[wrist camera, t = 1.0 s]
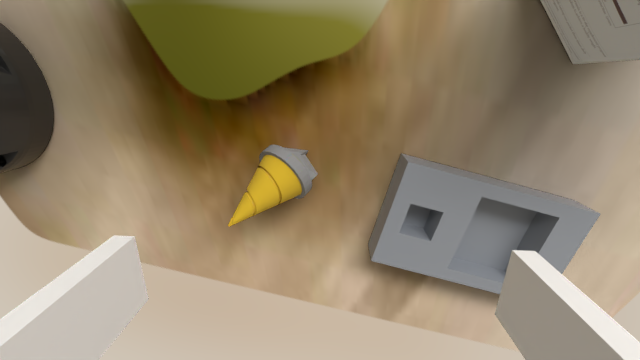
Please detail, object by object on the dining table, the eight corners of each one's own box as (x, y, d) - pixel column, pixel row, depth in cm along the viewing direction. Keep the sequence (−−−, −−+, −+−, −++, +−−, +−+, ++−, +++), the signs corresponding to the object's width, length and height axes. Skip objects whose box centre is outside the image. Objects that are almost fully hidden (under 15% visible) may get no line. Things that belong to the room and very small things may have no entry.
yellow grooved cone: (329, 181, 29) (257, 258, 25) (288, 154, 31) (213, 221, 26) (334, 146, 25) (247, 231, 20) (285, 116, 27) (195, 189, 22)
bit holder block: (368, 243, 31) (371, 260, 28) (401, 153, 27) (408, 161, 25) (523, 284, 31) (541, 305, 28) (574, 200, 28) (600, 213, 25)
